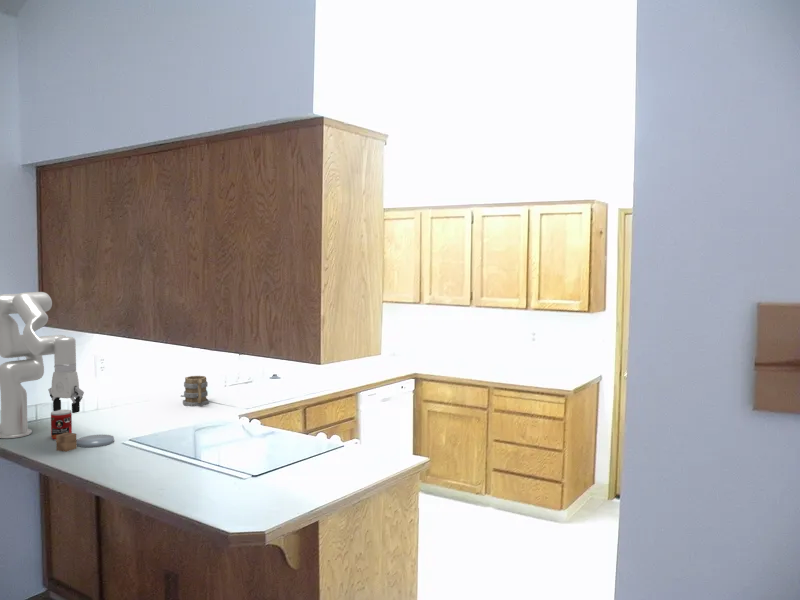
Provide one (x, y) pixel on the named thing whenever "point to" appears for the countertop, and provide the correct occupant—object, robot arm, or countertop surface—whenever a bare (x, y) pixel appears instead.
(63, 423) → the canned food
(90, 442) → the dish
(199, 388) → the tankard
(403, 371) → the countertop surface
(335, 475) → the countertop surface
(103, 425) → the countertop surface
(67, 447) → the walnut block
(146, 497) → the countertop surface
